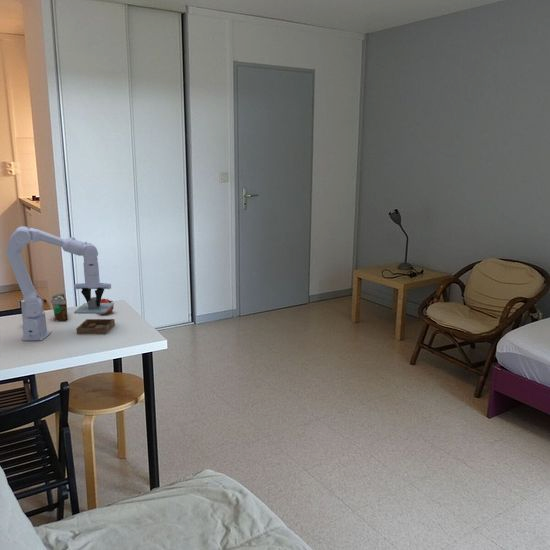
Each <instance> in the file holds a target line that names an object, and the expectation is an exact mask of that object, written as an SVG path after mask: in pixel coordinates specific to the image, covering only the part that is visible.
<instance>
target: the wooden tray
mask: <svg viewBox="0 0 550 550" xmlns="http://www.w3.org/2000/svg"><path fill="white" fill-rule="evenodd" d="M115 325H116V322H115V319H114V318H95V319H94V318H92V319H91V318H86V319H85V320H84V321H82V322H81V323H80V325H78V326H77V327H76V328H75V329H76V330H75V331H76V335H107V334H108V333H109V332H110V331H111V330H112V328H113V327H114V326H115Z"/></svg>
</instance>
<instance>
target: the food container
mask: <svg viewBox="0 0 550 550" xmlns="http://www.w3.org/2000/svg"><path fill="white" fill-rule="evenodd" d="M50 303H51V304H52V309H53V315H54V319H55V321H58V322H66V320H69V316H68V307H67V299H66V297H65V293H64V292H62V293H55V294H53V295H52V296H51V298H50Z"/></svg>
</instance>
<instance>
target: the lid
mask: <svg viewBox="0 0 550 550" xmlns="http://www.w3.org/2000/svg"><path fill="white" fill-rule="evenodd" d="M114 305H115V302H114V303H113V302H111V303H100V306H97V300H96V296H95V297H94V296H91V299H90V300H89V301H88V304H87V302H84V303H83V304H82V305H81V306H79V307H78V308H77V309H75V310H74V311H73V312H74V313H73V314H79V315H81V314H83V315H84V314H85V315H88V314H91V315H95V314H97V315H99V314H102V315H104V314H103V313H106V312H107V311H108V310H109V309H110V308H111V307H112V306H114Z"/></svg>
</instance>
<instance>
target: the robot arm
mask: <svg viewBox="0 0 550 550" xmlns="http://www.w3.org/2000/svg"><path fill="white" fill-rule="evenodd" d="M30 242H31V243H33V244H34V243H37V242H44V243H46V244H47V243H48V244H51V245H55V246H58V247H61V249H62V250H63V251H64V252H66V253H69V254H73V255H75V256H78V257H83V276H84V282H83V283H75V284H73V288H74V289H73V290H81V291H80V293H81V294H82V295H83V298H84V299H85V300H86V303H87V304H88V301H89V300H90V299H91V298H92V290H94V293H95V297H96V300H97V306H100V302H101V299H102V297H103V294H104V292H105V290H111V289H112V283H107V282H105V283H104V282H100V270H99V269H100V268H99V261H98V258H99V257H98V256H99V252H98V249H97V247H96V246H95V245H94V244H93V243H90V242H89V243H88V242H87V241H81V240H78V239H76V237H74V236H72V237H66V238H62V237H59V236H56V235H53V234H52V233H49V232H47V231H43V230H40V229H37V228H33V227H28V226H25V225H21V226H17V227H16V229H15V230H14V231H13V233H12V234H11V235H10V236H9V240H8V244H7V247H6V250H5V251H6V252H5V253H6V256H7V260H8V262H9V264H10V266H11V269H12V271H13V274H14V277H15V279H16V282H17V284H18V287H19V289H20V291H21V294H22V298H23V300H24V302H25V312H26V314H25V317H26V319H25V321H24V323H23V322H22V331H23V332H22V333H23V338H21V341H44V339H46V338H47V336H49V335H50V334H51V333H52V331H48V330H47V329H48V326H47V319H46V312H45V311H43V307H44V300H43V299H42V298H41V297H40V296H39V294H38V292H37V291H36V288H35V287H34V283H33V281H32V279H31V276H30V274H29V271H28V269H27V266H26V264H25V261H24V258H23V255H22V251H23V249H24V248H25V247H26V246H27V245H28V244H29V243H30Z"/></svg>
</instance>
